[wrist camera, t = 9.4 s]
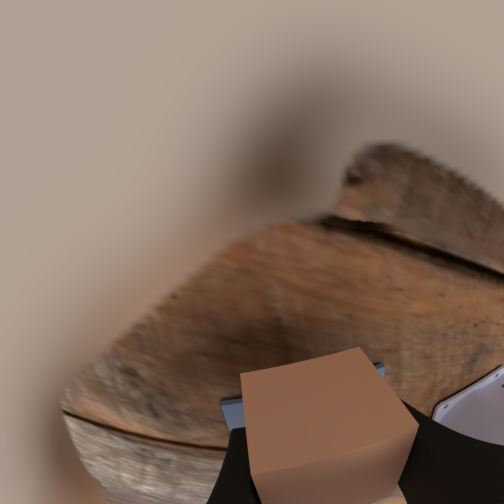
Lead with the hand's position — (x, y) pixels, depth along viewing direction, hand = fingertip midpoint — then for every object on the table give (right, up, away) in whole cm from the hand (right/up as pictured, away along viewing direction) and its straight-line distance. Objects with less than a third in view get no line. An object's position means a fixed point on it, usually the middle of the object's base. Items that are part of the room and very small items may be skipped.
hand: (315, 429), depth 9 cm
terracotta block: (0, 0, +1) cm, 2 cm away
